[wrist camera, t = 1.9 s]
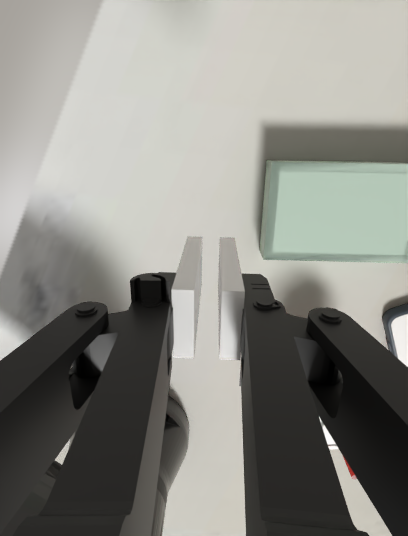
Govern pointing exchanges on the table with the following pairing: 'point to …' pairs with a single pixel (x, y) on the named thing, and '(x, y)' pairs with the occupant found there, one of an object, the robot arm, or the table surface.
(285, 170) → the bevelled sage-green slab
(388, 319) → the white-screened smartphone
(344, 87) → the table surface
